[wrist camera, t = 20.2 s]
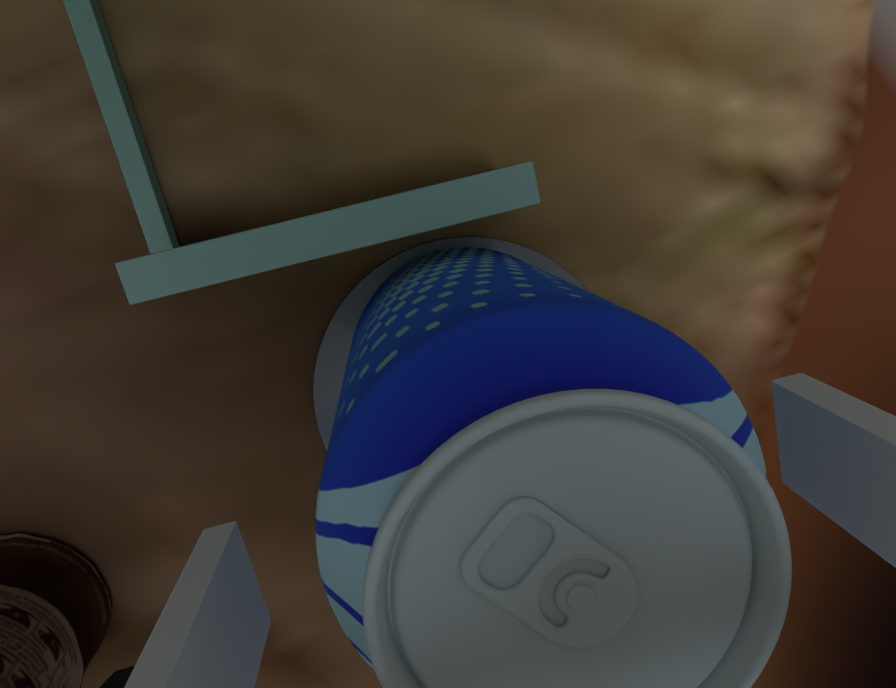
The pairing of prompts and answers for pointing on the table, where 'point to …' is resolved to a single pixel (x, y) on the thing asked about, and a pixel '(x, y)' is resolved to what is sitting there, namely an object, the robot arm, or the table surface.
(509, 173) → the rack
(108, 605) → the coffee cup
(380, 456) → the beer can
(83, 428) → the table surface
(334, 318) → the flat grey disc
